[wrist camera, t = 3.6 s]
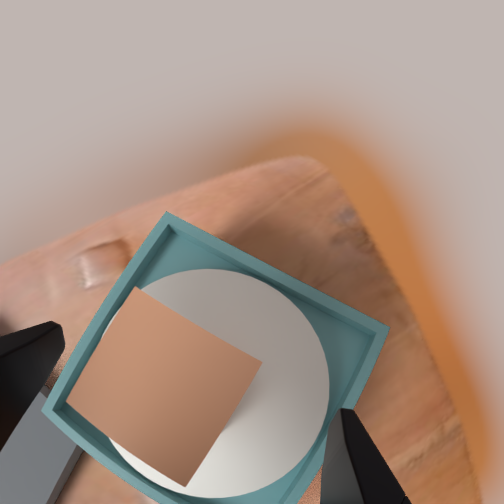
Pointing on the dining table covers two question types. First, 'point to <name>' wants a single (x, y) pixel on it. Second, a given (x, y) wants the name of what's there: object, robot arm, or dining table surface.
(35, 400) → the slate mat
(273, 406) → the lid
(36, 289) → the dining table surface
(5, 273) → the dining table surface
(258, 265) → the tray
